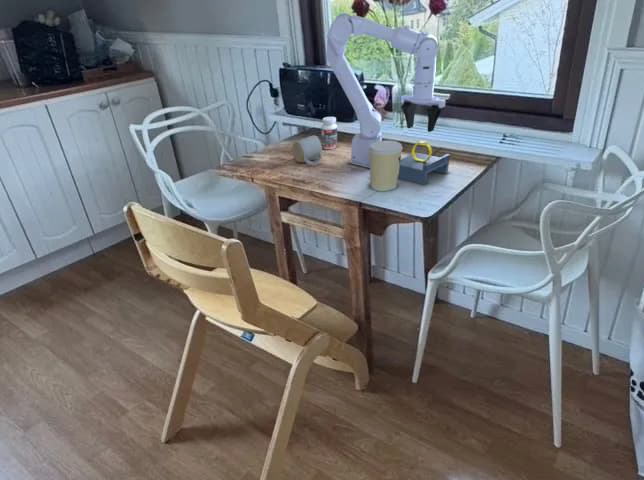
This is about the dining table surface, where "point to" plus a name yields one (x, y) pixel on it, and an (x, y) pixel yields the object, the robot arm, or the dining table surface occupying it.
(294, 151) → the ceramic mug
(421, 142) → the watch
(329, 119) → the pill bottle
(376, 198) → the dining table surface
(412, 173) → the blue stand
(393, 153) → the coffee cup
